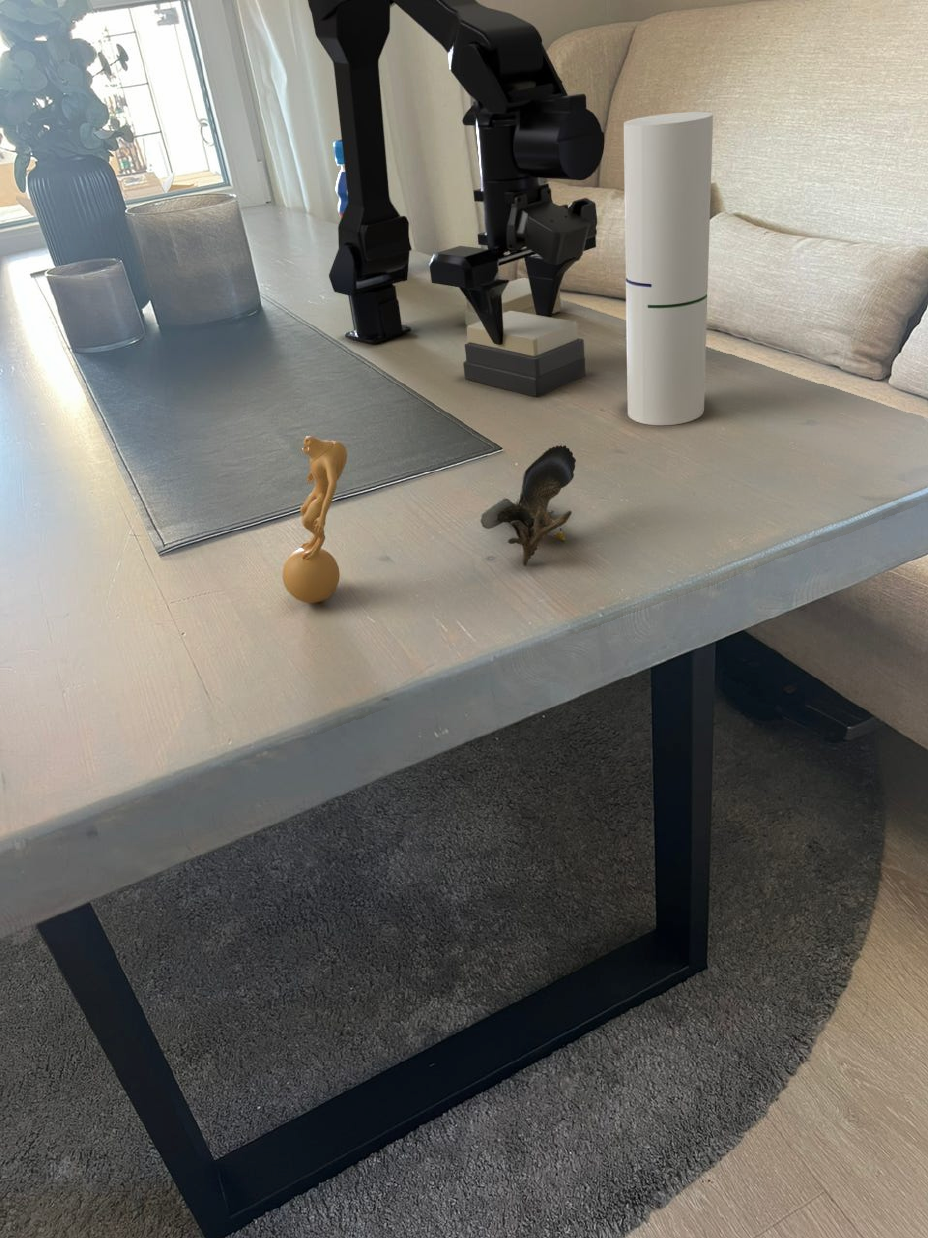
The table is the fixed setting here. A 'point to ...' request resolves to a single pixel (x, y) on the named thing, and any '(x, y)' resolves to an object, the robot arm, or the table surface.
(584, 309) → the table surface
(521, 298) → the white books
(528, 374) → the grey books
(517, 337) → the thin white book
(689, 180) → the cylindrical container
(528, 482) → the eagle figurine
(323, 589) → the figurine
